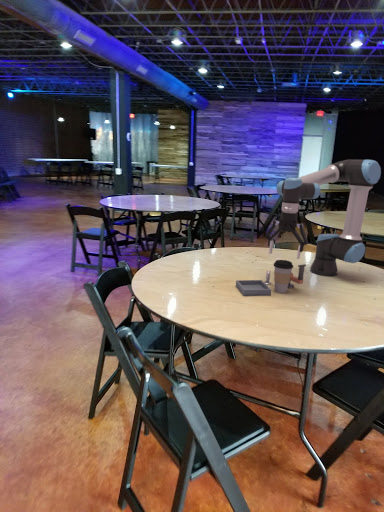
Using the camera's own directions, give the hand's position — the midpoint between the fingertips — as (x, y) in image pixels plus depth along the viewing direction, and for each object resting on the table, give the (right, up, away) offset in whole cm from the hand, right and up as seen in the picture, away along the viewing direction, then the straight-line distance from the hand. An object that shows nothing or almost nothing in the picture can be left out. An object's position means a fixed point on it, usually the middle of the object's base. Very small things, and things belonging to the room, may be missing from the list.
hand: (284, 255), depth 165 cm
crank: (+6, -12, +9) cm, 16 cm away
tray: (-14, -17, +4) cm, 23 cm away
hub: (+4, -15, +13) cm, 21 cm away
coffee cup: (-1, -18, +5) cm, 18 cm away
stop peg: (-5, -15, +15) cm, 21 cm away
